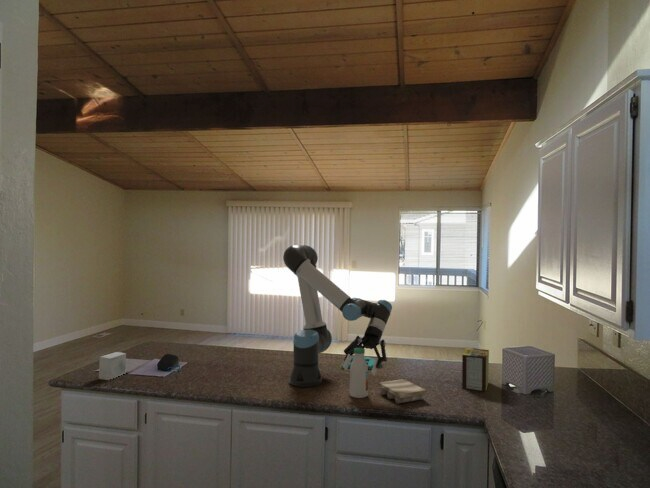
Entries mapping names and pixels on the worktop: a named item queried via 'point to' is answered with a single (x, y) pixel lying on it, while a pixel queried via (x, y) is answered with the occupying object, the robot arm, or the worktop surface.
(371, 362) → the alien figure
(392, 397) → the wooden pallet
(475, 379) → the protein box
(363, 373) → the milk bottle
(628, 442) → the worktop surface
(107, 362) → the skincare box
